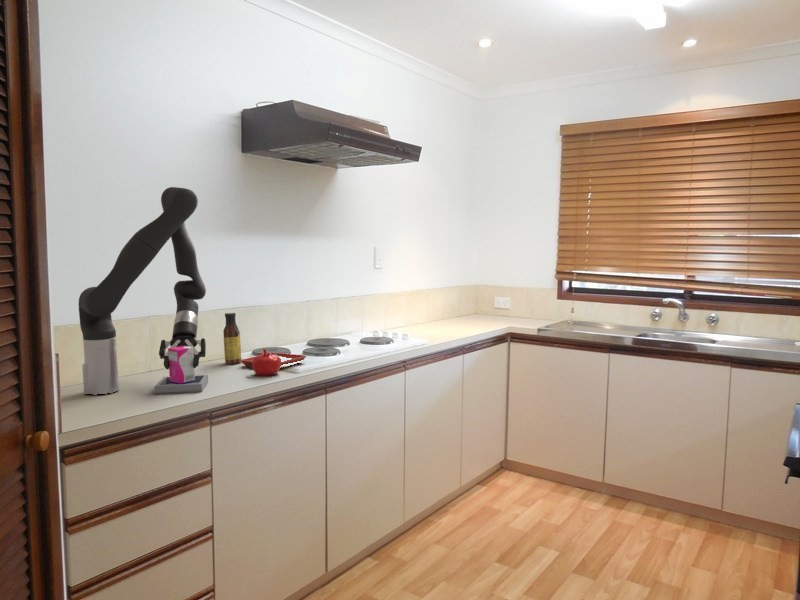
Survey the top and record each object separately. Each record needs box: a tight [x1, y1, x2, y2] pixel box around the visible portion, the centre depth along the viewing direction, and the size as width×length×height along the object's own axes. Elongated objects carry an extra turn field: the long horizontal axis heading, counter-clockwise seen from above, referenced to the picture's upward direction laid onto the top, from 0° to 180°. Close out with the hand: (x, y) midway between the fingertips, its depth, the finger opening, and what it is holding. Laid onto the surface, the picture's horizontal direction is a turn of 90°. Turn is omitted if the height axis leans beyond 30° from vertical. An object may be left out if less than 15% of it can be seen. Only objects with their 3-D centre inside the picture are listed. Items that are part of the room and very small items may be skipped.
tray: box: [153, 374, 209, 395], centre depth 191 cm, size 14×14×2 cm
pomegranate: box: [251, 348, 281, 377], centre depth 210 cm, size 10×10×9 cm
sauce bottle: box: [223, 311, 242, 365], centre depth 232 cm, size 7×6×20 cm
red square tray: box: [240, 352, 307, 368], centre depth 228 cm, size 18×18×3 cm
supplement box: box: [167, 346, 196, 385], centre depth 191 cm, size 6×6×12 cm
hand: (180, 367), depth 190 cm, fingers closed on supplement box, 8 cm apart
